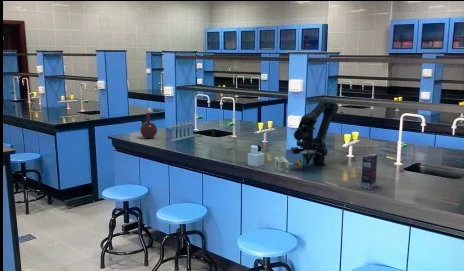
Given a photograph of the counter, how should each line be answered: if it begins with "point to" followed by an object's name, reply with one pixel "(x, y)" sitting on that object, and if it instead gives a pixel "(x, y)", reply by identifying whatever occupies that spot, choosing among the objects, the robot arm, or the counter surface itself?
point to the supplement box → (369, 170)
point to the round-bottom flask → (148, 128)
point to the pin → (296, 164)
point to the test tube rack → (181, 131)
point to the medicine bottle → (255, 156)
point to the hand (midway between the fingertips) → (307, 164)
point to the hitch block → (281, 165)
